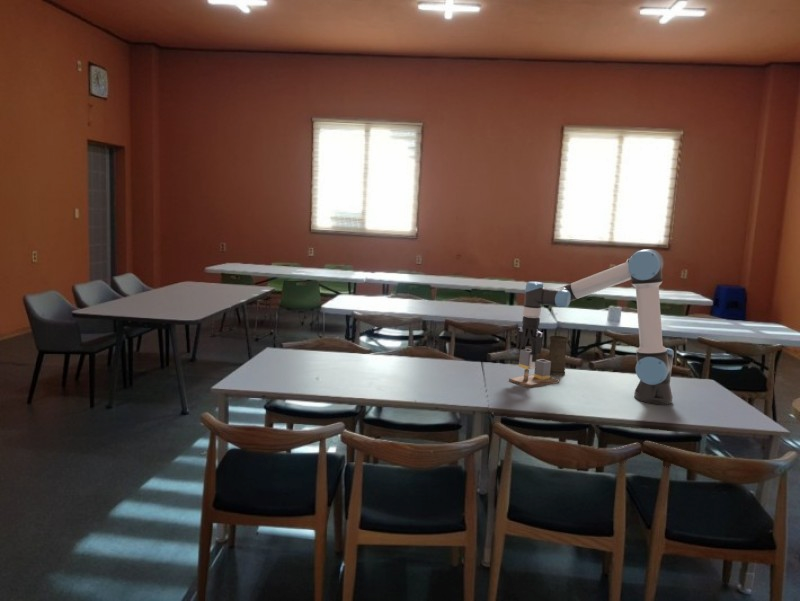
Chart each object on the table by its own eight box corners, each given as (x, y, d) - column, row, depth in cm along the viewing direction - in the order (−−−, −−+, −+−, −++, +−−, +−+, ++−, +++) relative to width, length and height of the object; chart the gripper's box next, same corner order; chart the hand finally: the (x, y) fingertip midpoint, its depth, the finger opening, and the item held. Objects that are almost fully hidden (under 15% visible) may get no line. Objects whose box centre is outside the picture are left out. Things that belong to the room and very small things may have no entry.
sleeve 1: (534, 368, 269) (536, 350, 268) (527, 369, 266) (528, 351, 265) (526, 365, 273) (527, 348, 272) (518, 366, 270) (520, 349, 269)
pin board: (558, 382, 275) (559, 369, 274) (529, 387, 263) (530, 374, 262) (537, 375, 285) (539, 363, 284) (508, 380, 273) (510, 367, 272)
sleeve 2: (549, 378, 277) (551, 361, 275) (542, 379, 274) (544, 362, 272) (541, 375, 280) (542, 359, 279) (534, 376, 278) (535, 360, 276)
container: (560, 376, 285) (564, 340, 282) (543, 373, 290) (546, 336, 288) (568, 373, 292) (571, 337, 289) (550, 369, 297) (554, 334, 295)
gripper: (553, 319, 261) (547, 370, 265) (521, 312, 276) (517, 361, 279) (541, 320, 257) (536, 372, 260) (510, 313, 271) (506, 363, 274)
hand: (526, 366), depth 270 cm, fingers closed on sleeve 1, 5 cm apart
